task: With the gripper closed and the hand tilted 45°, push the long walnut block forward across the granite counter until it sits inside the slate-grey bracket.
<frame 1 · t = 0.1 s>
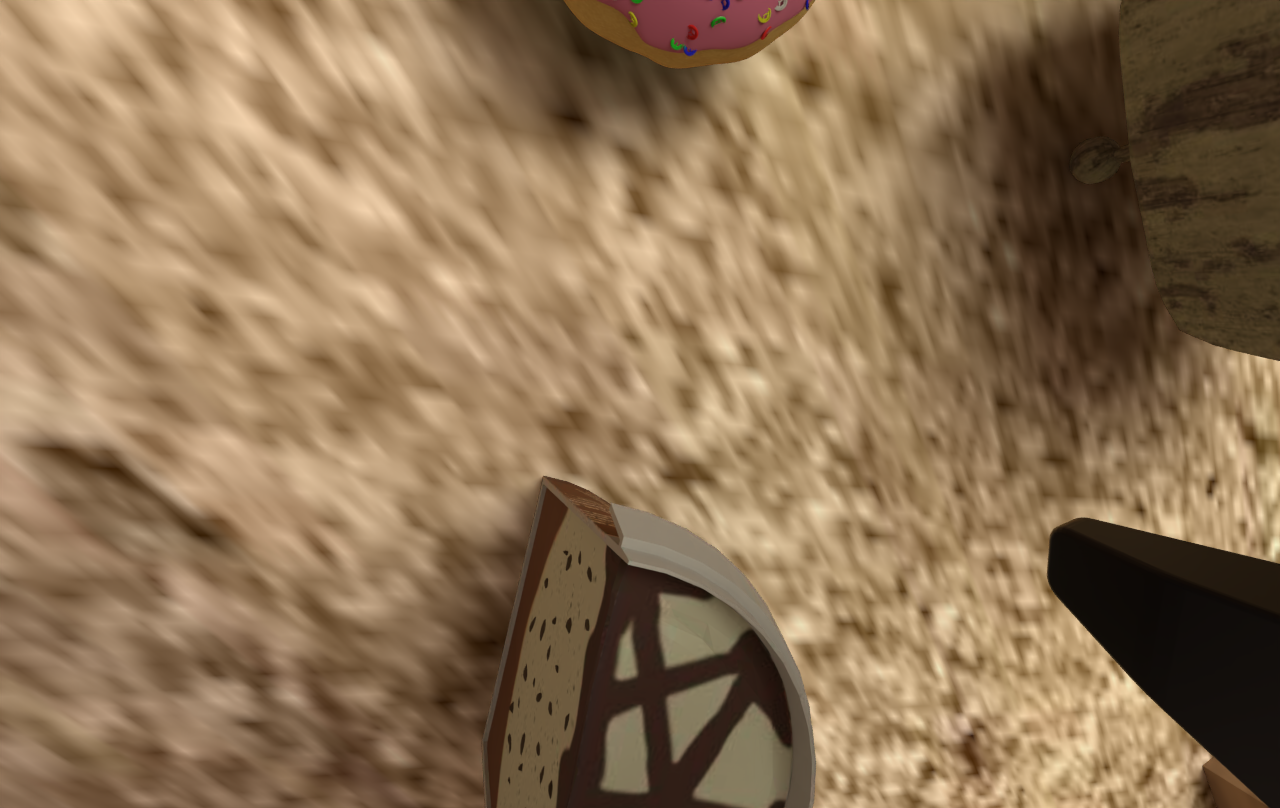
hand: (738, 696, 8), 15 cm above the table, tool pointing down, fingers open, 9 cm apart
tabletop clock: (1112, 148, 27), on the table
food container: (599, 619, 25), on the table
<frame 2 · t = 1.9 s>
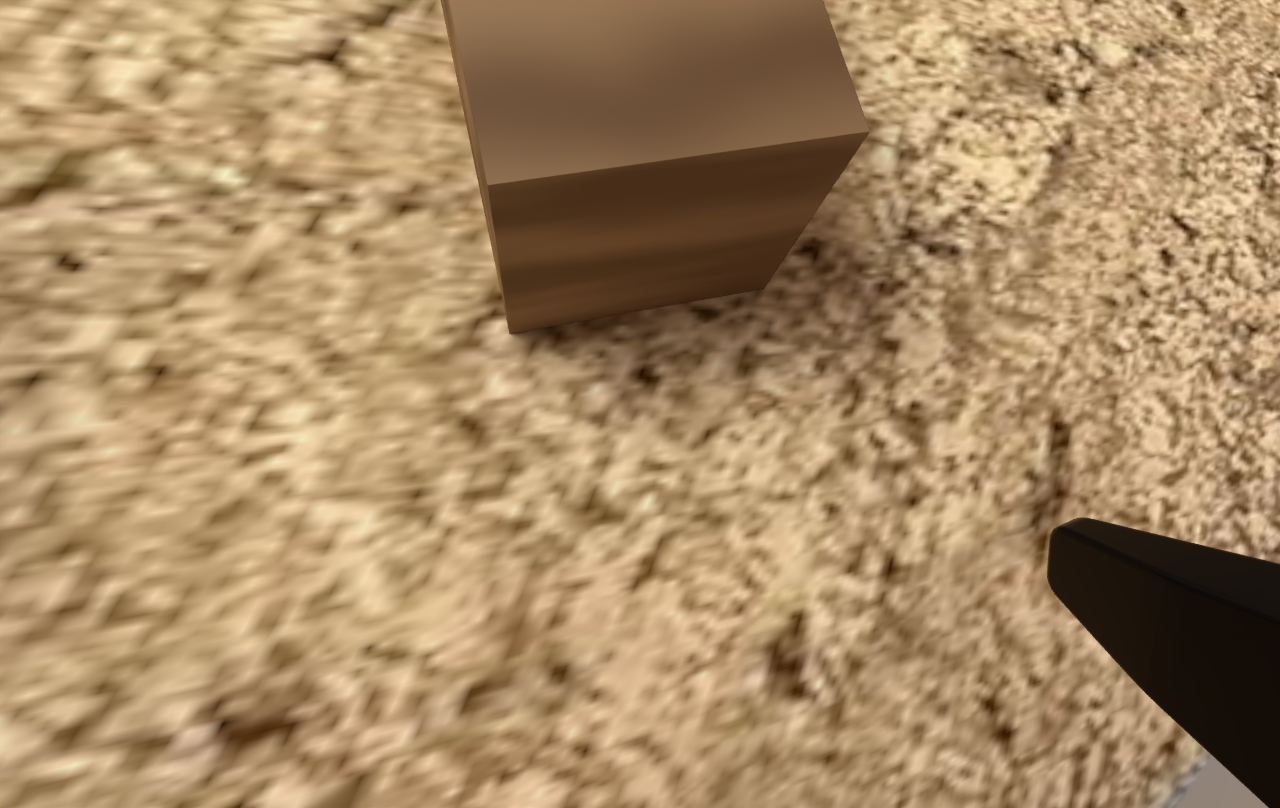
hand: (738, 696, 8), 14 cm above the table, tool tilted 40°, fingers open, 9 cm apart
walnut block: (589, 114, 27), on the table
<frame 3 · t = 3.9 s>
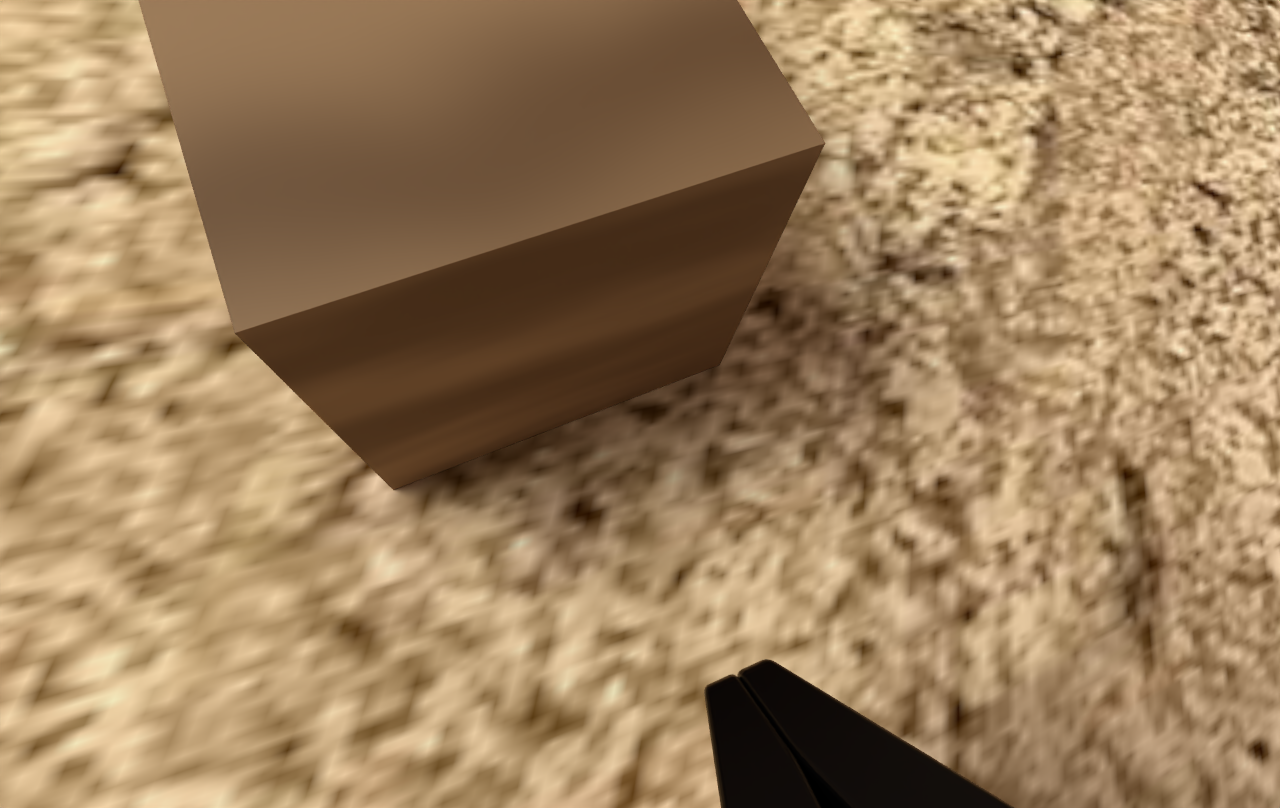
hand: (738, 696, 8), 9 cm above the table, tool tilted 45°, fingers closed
walnut block: (462, 184, 21), on the table
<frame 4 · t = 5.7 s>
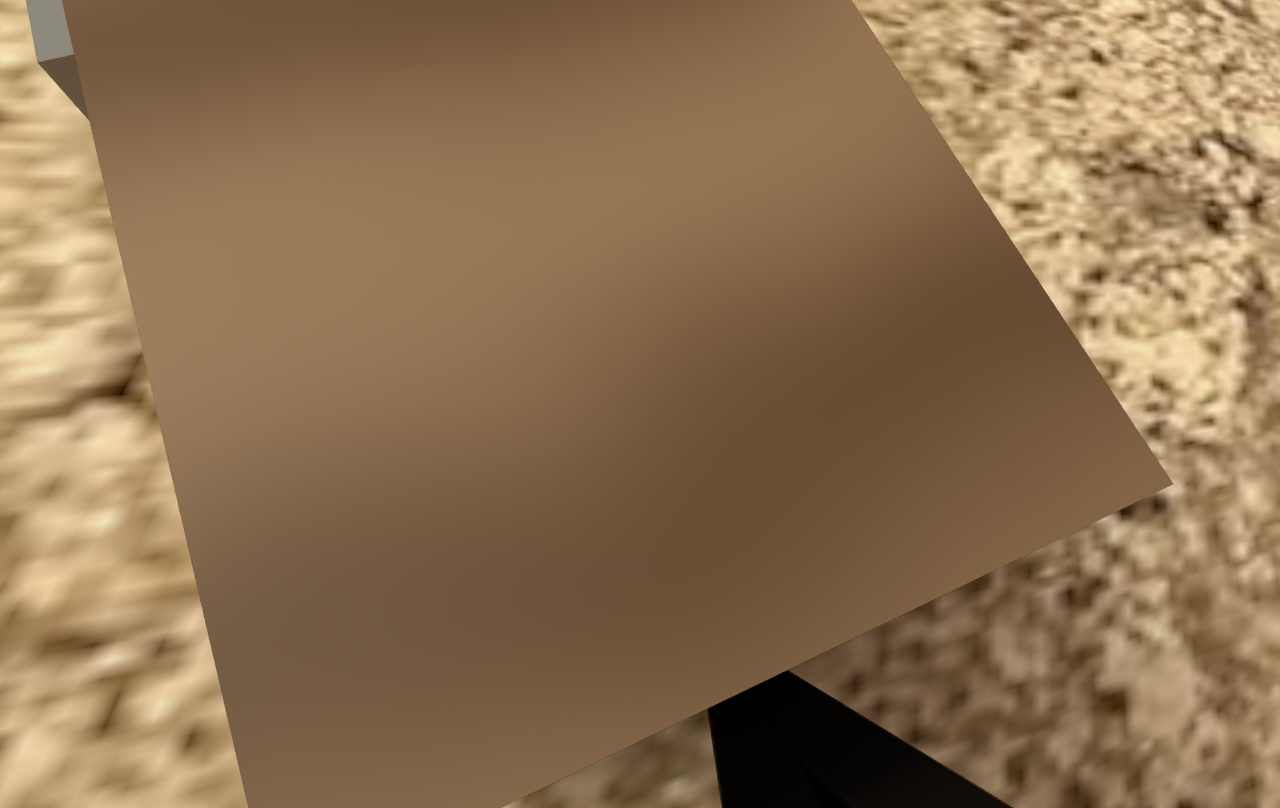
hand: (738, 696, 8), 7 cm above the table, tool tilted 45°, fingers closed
slate bracket: (430, 79, 19), on the table
walnut block: (531, 338, 17), on the table, touching gripper
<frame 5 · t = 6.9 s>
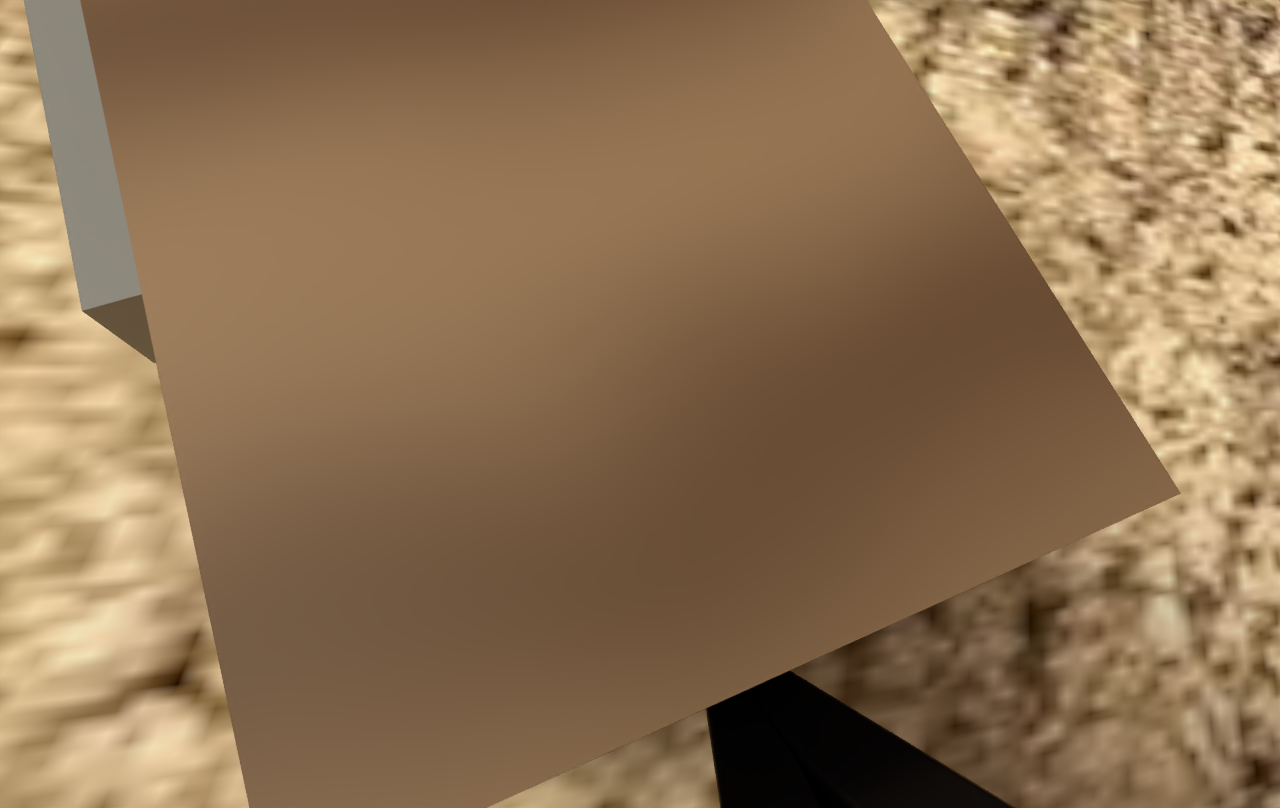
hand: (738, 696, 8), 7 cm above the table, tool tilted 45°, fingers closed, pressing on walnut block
slate bracket: (508, 275, 17), on the table
walnut block: (537, 334, 17), on the table, touching gripper
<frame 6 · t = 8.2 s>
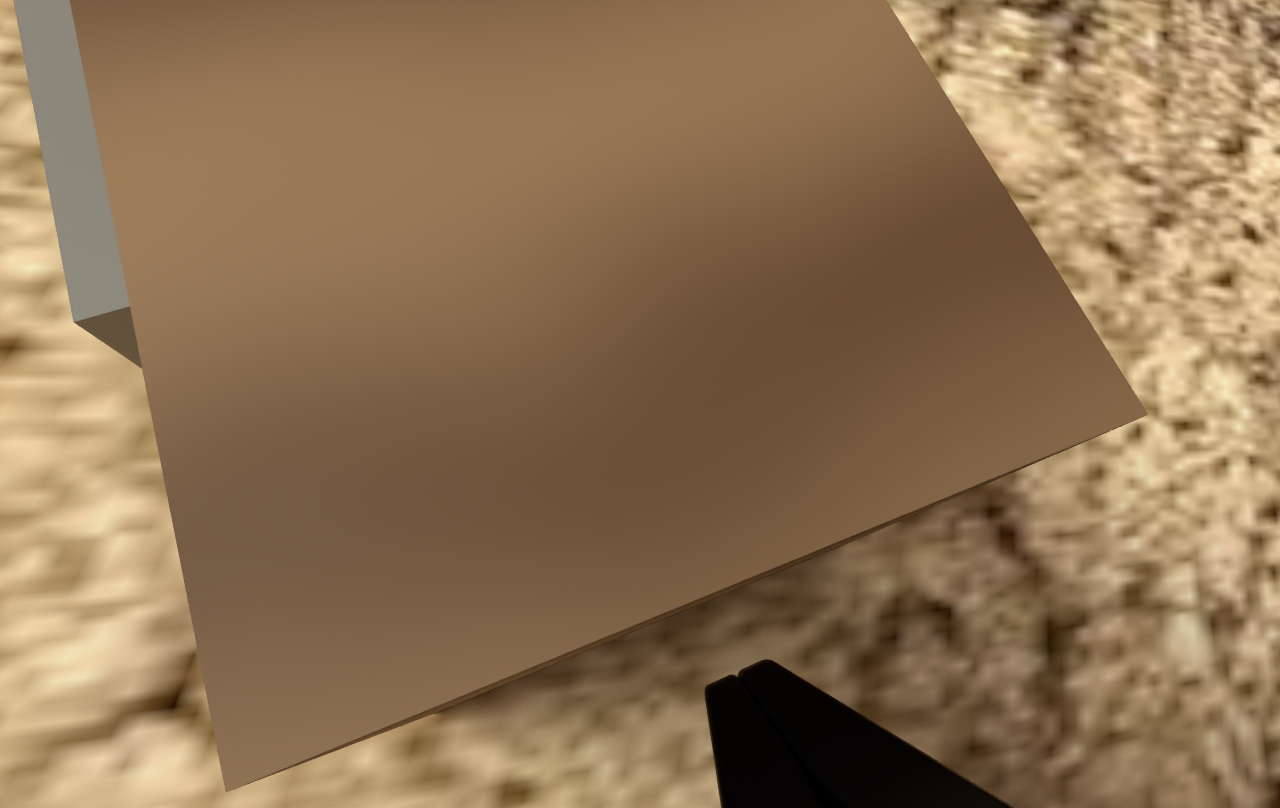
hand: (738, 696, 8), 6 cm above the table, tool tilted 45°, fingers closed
slate bracket: (513, 282, 17), on the table
walnut block: (525, 296, 17), on the table
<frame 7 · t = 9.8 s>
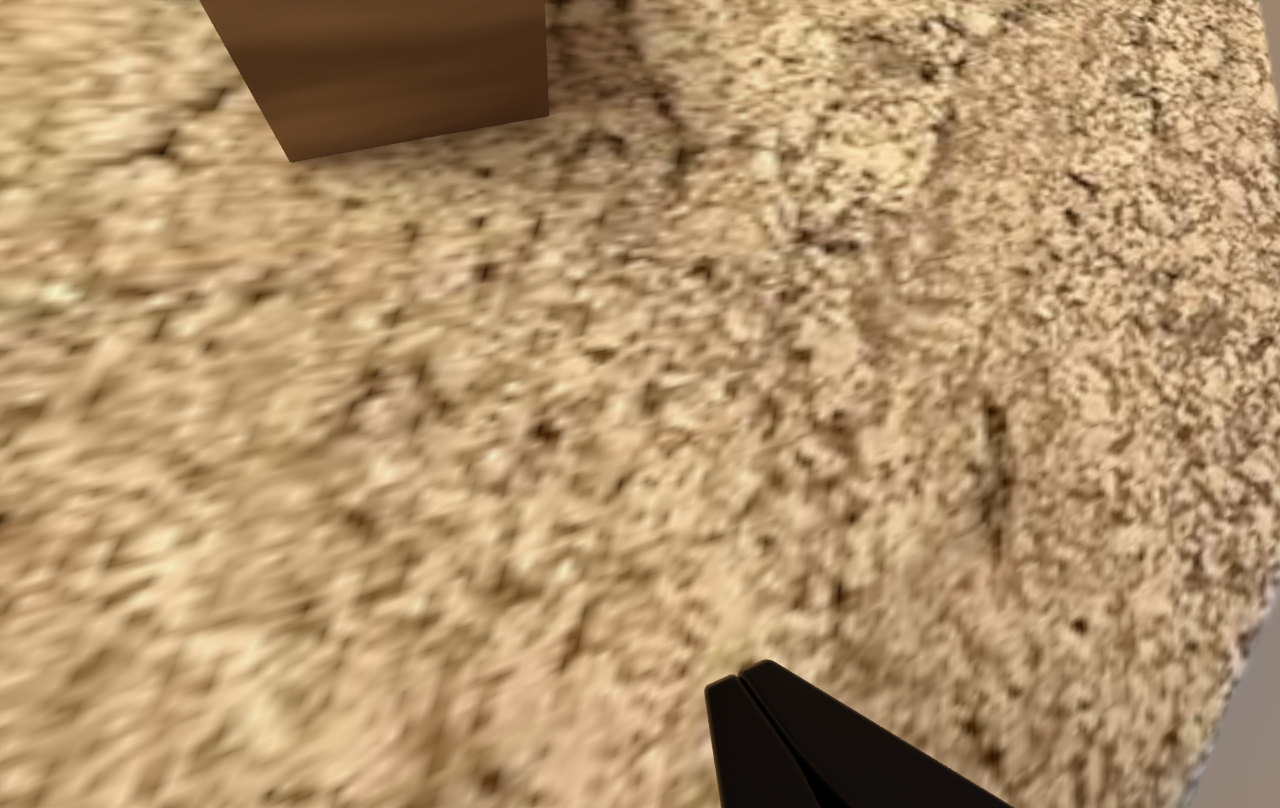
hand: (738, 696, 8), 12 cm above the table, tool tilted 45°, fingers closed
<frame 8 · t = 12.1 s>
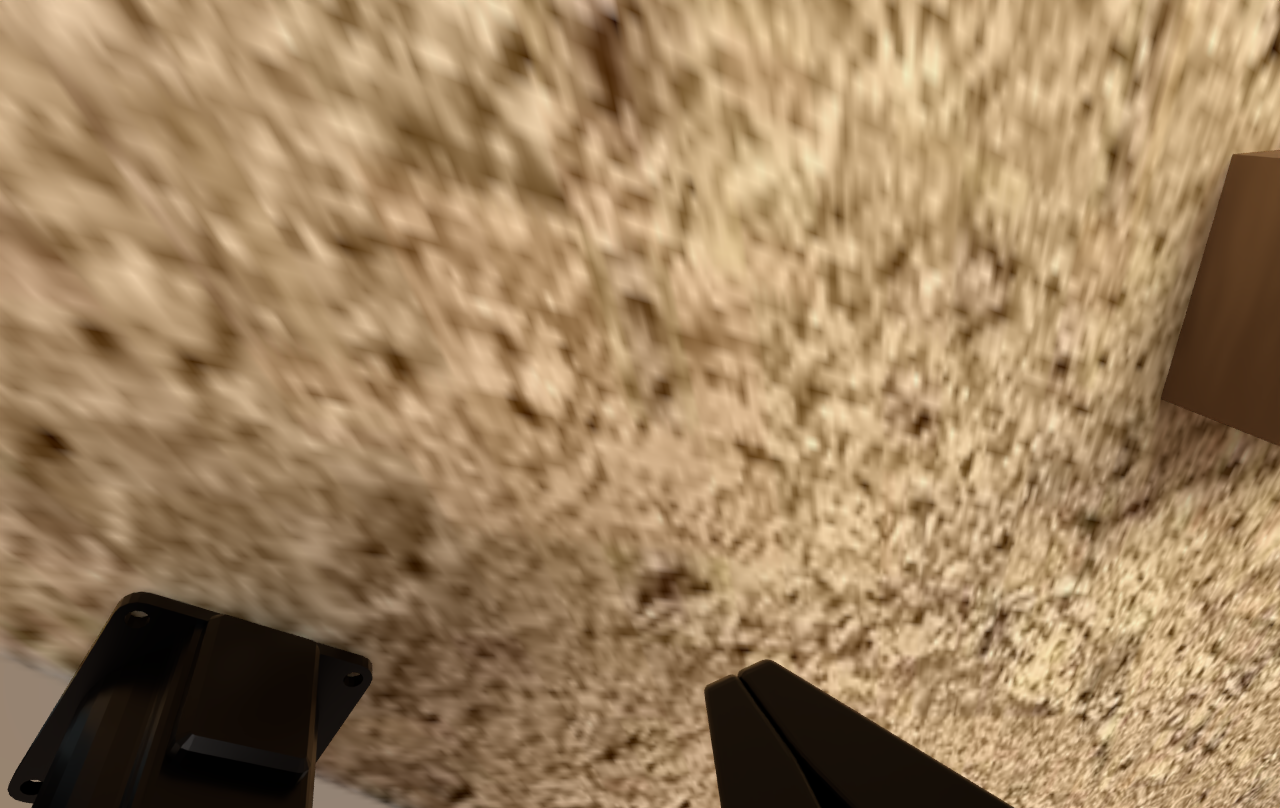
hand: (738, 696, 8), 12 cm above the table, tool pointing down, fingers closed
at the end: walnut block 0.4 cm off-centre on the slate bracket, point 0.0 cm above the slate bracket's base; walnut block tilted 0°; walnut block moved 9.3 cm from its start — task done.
